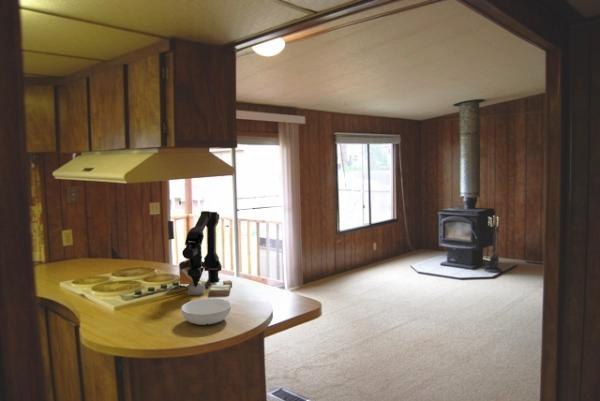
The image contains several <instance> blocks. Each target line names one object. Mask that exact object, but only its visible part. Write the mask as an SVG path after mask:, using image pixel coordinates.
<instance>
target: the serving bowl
mask: <svg viewBox="0 0 600 401" xmlns="http://www.w3.org/2000/svg"><path fill="white" fill-rule="evenodd" d="M180 309H181V313H182V317H183V318H184V319H185V320H186V321H188V322H189V323H191V324H195V325H200V326H201V325H202V326H203V325H205V326H207V325H206V324H208V325H213V324H216V323H217V324H218V323H220V322H222V321H223V320H225V319H226V318H227V317H229V316H228V315H230V313H231V309H232V303H231V302H230V301H229V300H225V299H223V298H222V299H221V298H212V297H211V298H200V299H199V298H198V299H195V300H191V301H188V302H186V303H184V304H183V305H182V306H181V308H180Z"/></svg>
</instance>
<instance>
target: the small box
mask: <svg viewBox="0 0 600 401" xmlns="http://www.w3.org/2000/svg"><path fill="white" fill-rule="evenodd" d="M181 262H182V261H181ZM181 262H179V264H180V263H181ZM189 269H190V268H189V267H187V268H184V269H183V270H181V268H179V270H178V271H179V272H178V273H179V285H180V284H190V283H193V280H192V278H191V277H190V276H189V275H188V270H189Z"/></svg>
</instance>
